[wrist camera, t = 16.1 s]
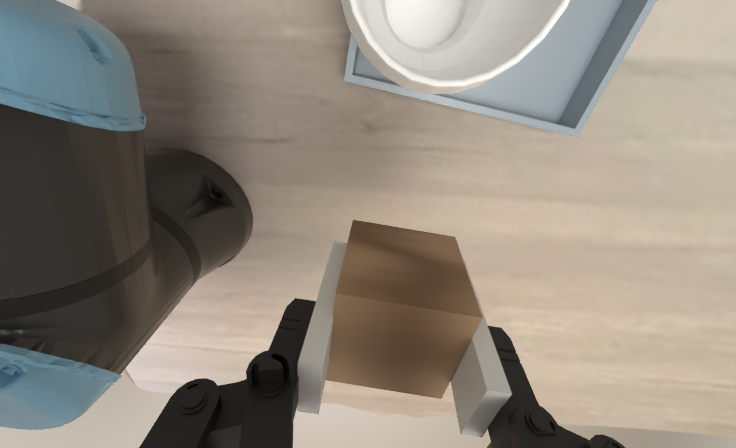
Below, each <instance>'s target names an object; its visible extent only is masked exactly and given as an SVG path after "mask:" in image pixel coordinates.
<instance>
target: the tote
mask: <svg viewBox="0 0 736 448" xmlns="http://www.w3.org/2000/svg"><path fill="white" fill-rule="evenodd" d="M656 1H657V0H570V2H569V4H568V6H567V8H566V9H565V11H564V12H563V13H562V15H561V16H560V18H559V19H558V20H557V22H556V23H555V24H554V26H553V27H552V28H551V30H550V31H549V32H548V34H547V35H546V37H545V38H544V39H543V40H542V41H541V42H540V43H539V44H538V45H537V46H536V47H535V48H533V49H532V50H531V51H530V52H529V53H528V54H527V55H526V56H525V57H524V58H523V59H521V60H520V61H519V62H518V63H517V64H515V65H513V66H512V67H510V68H508V69H507V70H505V71H503V72H502V73H500V74H498V75H497V76H495V77H493V78H491V79H490V80H488V81H486V82H485V83H483V84H481V85H479V86H477V87H474V88H470V89H467V90H463V91H460V92H457V93H453V94H425V93H421V92H418V91H414V90H410V89H407V88H403V87H401V86H400V85H398V84H397V83H395V82H393V81H392V80H390V79H389V78H387V77H385V76H384V75H382V74H381V73H380V72H379V71H378V70H377V69H376V68H375V67H374V66H373V64H372V63H371V62H370V61H369V60H368V59H367V58H366V57H365V56H364V54H363V53H362V52H361V50H360V48H359V46H358V44H357V42H356V41H355V39H354V37H353V35H352V33H351V37H350V43H349V50H348V56H347V63H346V69H345V76H344V81H346V82H350V83H354V84H359V85H363V86H367V87H371V88H375V89H379V90H383V91H388V92H392V93H396V94H400V95H404V96H408V97H413V98H417V99H421V100H425V101H429V102H433V103H437V104H442V105H446V106H450V107H454V108H458V109H462V110H467V111H471V112H475V113H479V114H483V115H487V116H491V117H496V118H500V119H504V120H508V121H512V122H516V123H520V124H525V125H529V126H533V127H537V128H541V129H545V130H550V131H554V132H558V133H562V134H566V135H570V136H574V137H578V136H579V134H580V132H581V130H582V129H583V127H584V125H585V123H586V122H587V120H588V118H589V117H590V115H591V113H592V111H593V110H594V108H595V106H596V104H597V103H598V101H599V99H600V98H601V96H602V94H603V92H604V91H605V89H606V87H607V86H608V84H609V82H610V80H611V79H612V77H613V75H614V73H615V72H616V70H617V68H618V67H619V65H620V63H621V61H622V60H623V58H624V56H625V54H626V53H627V51H628V49H629V48H630V46H631V44H632V42H633V41H634V39H635V37H636V35H637V34H638V32H639V30H640V29H641V27H642V25H643V23H644V22H645V20H646V18H647V17H648V15H649V13H650V11H651V10H652V8H653V6H654V4H655V3H656Z"/></svg>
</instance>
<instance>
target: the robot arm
mask: <svg viewBox="0 0 736 448" xmlns="http://www.w3.org/2000/svg"><path fill="white" fill-rule="evenodd" d="M146 122H147V121H146V116H145V114H144V113H143V112H142V110H141V107H140V101H139V95H138V89H137V84H136V78H135V72H134V66H133V63H132V59H131V57H130V55H129V53H128V51H127V49H126V47H125V46H124V45H123V43H122V42H121V41H120V40H119V39H118V38H117V36H116V35H115V34H114V33H113V32H111V31H110V30H109V29H108V28H107V27H105V26H104V25H103V24H101V23H100V22H98V21H97V20H95V19H93V18H92V17H90V16H88V15H86V14H84V13H82V12H80V11H78V10H76V9H74V8H72V7H69V6H67V5H65V4H62V3H60V2H58V1H56V0H0V426H2V427H8V428H16V429H29V430H32V429H33V430H37V429H49V428H55V427H59V426H62V425H64V424H67V423H69V422H72V421H74V420H75V419H77V418H78V417H80V416H81V415H82V414H84V413H85V412H86V411H87V410H88V409H89V408H90V407H91V406H92V405H93V404H94V402H95V401H96V400H97V399H98V398H99V397H100V396H101V395H102V394H103V393H104V392H105V391H106V390H107V389H108V388H109V387H110V386H111V385H112V384H113V383H114V382H116V381H117V380H118V379H119V378H120V377H121V375H120V374H121V373H122V371H123V370H124V369H125V368H126V367H127V365H128V364H129V363H130V362H131V360H132V359H133V358H134V357H135V356H136V354H137V353H138V352H139V351H140V349H141V348H142V347H143V346H144V345H145V343H146V342H147V341H148V340H149V338H150V337H151V336H152V335H153V334H154V332H155V331H156V330H157V329H158V327H159V326H160V325H161V324H162V323H163V321H164V320H165V319H166V318H167V316H168V315H169V314H170V313H171V312H172V310H173V309H174V308H175V307H176V305H177V304H178V303H179V302H180V301H181V299H182V298H183V297H184V296H185V294H186V293H187V292H188V291H189V289H190V288H191V287H192V286H193V285H194V283H195V282H196V281H197V280H198V279H200V278H201V277H203V276H205V275H206V274H208V273H210V272H211V271H213V270H214V269H216V268H217V267H220V266H222V265H224V264H226V263H228V262H229V261H231V260H232V259H233V258H234V257H236V256H237V255H238V253H239V252H240V251H241V249H242V248H243V247H244V245H245V244H246V243H247V241H248V239H249V237H250V235H251V231H252V223H253V222H252V213H251V209H250V206H249V203H248V201H247V198H246V196H245V195H244V193H243V191H242V190H241V188H240V187H239V185H238V184H237V183H236V182H235V181H234V180H233V178H232V177H231V176H230V175H229V174H227V173H226V172H225V171H224V170H223V169H221V168H220V167H219V166H217V165H216V164H215V163H213V162H211V161H210V160H208V159H206V158H204V157H202V156H199V155H197V154H194V153H191V152H188V151H183V150H177V149H160V150H155V151H152V152H149V153H147V154H145V144H144V135H143V129H145V126H146ZM346 248H347V243H341V242H334V244H333V247H332V251H331V254H330V257H329V261H328V264H327V267H326V271H325V274H324V277H323V281H322V284H321V287H320V291H319V294H318V297H317V301H310V300H303V299H296V298H295V299H294V300H293V301H292V302H291V303H290V304H289V305H288V306H287V307H286V309H285V312H284V314H283V317H282V320H281V322H280V324H279V326H278V329H277V331H276V334H275V336H274V339H273V341H272V343H271V346H270V348H269V350H268V351H264V352H262V353H260V354H259V355H257V356H255V358H254V359H253V360H252V361H251V362H250V363H249V366H248V368H247V371H246V375H247V379H246V380H244V381H240V382H237V383H231V384H226V385H220V386H217V385H216V383H215V382H214V381H212V380H209V379H196V380H193V381H190V382H188V383H186V384H184V385H183V386H182V387H180V388H179V389H178V390H177V391H176V392H175V393H174V394H173V395H172V397H171V398H170V399H169V401H168V403H167V404H166V406H165V407H164V409H163V411H162V413H161V414H160V416H159V417H158V419H157V420H156V422H155V423H154V425H153V427H152V428H151V430H150V431H149V433H148V435H147V437H146V438H145V440H144V441H143V443H142V444H141V446H140V447H139V448H293V419H294V416H295V412H296V408H297V411H302V412H309V413H315V414H318V413H319V409H320V404H321V399H322V394H323V389H324V384H325V379H326V374H327V369H328V364H329V355H330V346H331V336H332V327H333V310H334V302H335V294H336V290H337V286H338V281H339V277H340V273H341V269H342V265H343V260H344V256H345V252H346ZM463 262H464V264H465V261H463ZM465 267H466V264H465ZM466 270H467V267H466ZM467 273H468V276H469V279H470V282H471V285H472V288H473V291H474V294H475V296H476V299H477V302H478V305H479V308H480V311H481V314H482V317H483V318H482V320H481V322H480V324H479V326H478V328H477V330H476V332H475V334H474V336H473V338H472V340H471V342H470V344H469V346H468V348H467V350H466V352H465V353H464V355H463V357H462V359H461V361H460V363H459V365H458V367H457V369H456V371H455V373H454V375H453V377H452V379H451V385H452V390H453V395H454V401H455V406H456V412H457V417H458V422H459V428H460V433H461V434H463V435H469V436H477V437H483V435H484V434H485V432H486V431H487V429H488V431H489V435H490V439H491V443H490V444H489V446H488V447H487V448H625V447H624V446H622V444H620V443H619V442H617V441H616V440H614V439H613V438H610V437H608V436H605V435H595V436H594V437H593V438H591V439H590V440H588V439H585V438H583V437H581V436H579V435H577V434H575V433H573V432H571V431H568V430H566V429H564V428H563V427H561V426H559V425H558V424H557V423H556V421H555V420H554V418H553V417H552V416H551V414H549V413H548V412H547V411H546V410H545V409H544V408H542V407H541V406H539V404H538V402H537V400H536V398H535V395H534V393H533V391H532V388H531V386H530V384H529V381H528V379H527V376H526V374H525V372H524V369H523V367H522V365H521V364H520V360H519V358H518V355H517V354H516V350H515V348H514V346H513V343H512V341H511V339H510V338H509V336H508V335H507V334H506V333H505V332H504V330H503V329H502V328H498V327H492V326H488V325H487V323H486V320H485V317H484V314H483V312H482V309H481V306H480V303H479V300H478V298H477V295H476V292H475V289H474V286H473V284H472V281H471V278H470V275H469V272H468V270H467Z"/></svg>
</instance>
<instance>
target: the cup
mask: <svg viewBox="0 0 736 448" xmlns="http://www.w3.org/2000/svg"><path fill="white" fill-rule="evenodd" d="M569 2H570V0H341V3H342V7H343V11H344V14H345V18H346V22H347V25H348V27H349V29H350V31H351V33H352V35H353V37H354V39H355V41H356V42H357V44H358V46H359V48H360V50H361V52H362V53H363V54H364V56H365V57H366V58H367V59H368V60H369V61H370V62H371V63H372V64H373V66H374V67H375V68H376V69H377V70H378V71H379V72H380V73H381V74H382V75H384V76H385V77H387V78H389V79H390V80H392V81H393V82H395V83H397V84H398V85H400V86H401V87H403V88H407V89H410V90H414V91H418V92H421V93H425V94H453V93H457V92H460V91H463V90H467V89H470V88H474V87H477V86H479V85H481V84H483V83H485V82H486V81H488V80H490V79H491V78H493V77H495V76H497V75H498V74H500V73H502V72H503V71H505V70H507V69H508V68H510V67H512V66H513V65H515V64H517V63H518V62H519V61H520V60H521V59H523V58H524V57H525V56H526V55H527V54H528V53H529V52H530V51H531V50H532V49H533V48H535V47H536V46H537V45H538V44H539V43H540V42H541V41H542V40H543V39H544V38H545V37H546V35H547V34H548V32H549V31H550V30H551V28H552V27H553V26H554V24H555V23H556V22H557V20H558V19H559V18H560V16H561V15H562V13H563V12H564V11H565V9H566V8H567V6H568V4H569Z"/></svg>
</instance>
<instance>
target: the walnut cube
mask: <svg viewBox="0 0 736 448" xmlns="http://www.w3.org/2000/svg"><path fill="white" fill-rule="evenodd" d="M482 318H483V317H482V314H481V311H480V308H479V305H478V302H477V299H476V296H475V294H474V291H473V288H472V285H471V282H470V279H469V276H468V273H467V270H466V267H465V264H464V262H463V259H462V256H461V253H460V250H459V247H458V244H457V241H456V238H455V237H452V236H446V235H440V234H434V233H428V232H422V231H416V230H410V229H404V228H398V227H392V226H387V225H381V224H375V223H369V222H363V221H357V220H353V223H352V227H351V231H350V235H349V239H348V244H347V248H346V252H345V256H344V260H343V265H342V269H341V273H340V277H339V281H338V286H337V290H336V294H335V302H334V310H333V327H332V336H331V346H330V355H329V364H328V369H327V374H326V379H325V380H328V381H334V382H340V383H347V384H353V385H359V386H365V387H371V388H378V389H384V390H390V391H396V392H403V393H409V394H415V395H421V396H427V397H434V398H440V399H441V398H442V396H443V394H444V392H445V390H446V389H447V387H448V385H449V383H450V381H451V379H452V377H453V375H454V373H455V371H456V369H457V367H458V365H459V363H460V361H461V359H462V357H463V355H464V353H465V352H466V350H467V348H468V346H469V344H470V342H471V340H472V338H473V336H474V334H475V332H476V330H477V328H478V326H479V324H480V322H481V320H482Z"/></svg>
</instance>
